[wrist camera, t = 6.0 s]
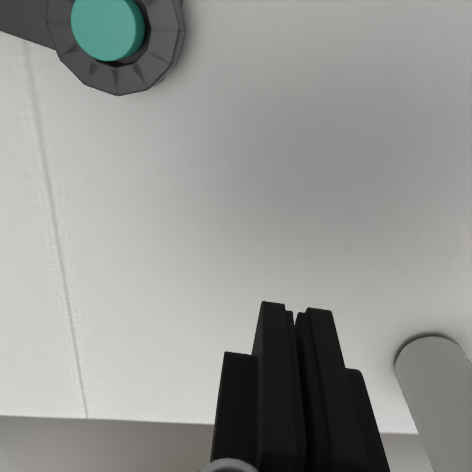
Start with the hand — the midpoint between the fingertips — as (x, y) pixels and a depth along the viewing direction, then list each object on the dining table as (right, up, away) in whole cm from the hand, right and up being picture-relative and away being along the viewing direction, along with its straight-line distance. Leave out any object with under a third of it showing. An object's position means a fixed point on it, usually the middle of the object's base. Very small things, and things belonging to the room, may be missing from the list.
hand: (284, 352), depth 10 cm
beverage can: (+12, -6, +19) cm, 23 cm away
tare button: (-6, +12, +7) cm, 15 cm away
